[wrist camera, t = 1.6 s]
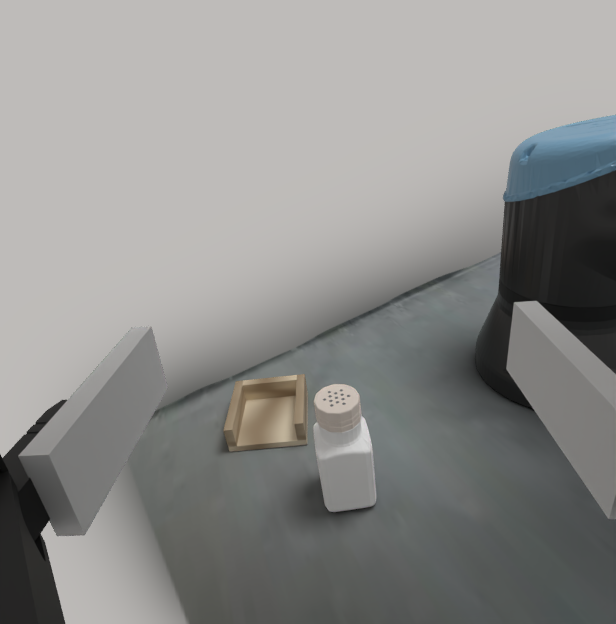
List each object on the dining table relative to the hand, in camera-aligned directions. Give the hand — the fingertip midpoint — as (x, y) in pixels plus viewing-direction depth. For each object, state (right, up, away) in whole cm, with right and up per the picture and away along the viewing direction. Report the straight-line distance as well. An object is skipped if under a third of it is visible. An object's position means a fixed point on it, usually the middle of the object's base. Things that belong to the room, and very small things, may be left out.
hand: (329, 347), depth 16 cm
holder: (-4, -10, +27) cm, 29 cm away
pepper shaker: (+2, -13, +19) cm, 23 cm away
